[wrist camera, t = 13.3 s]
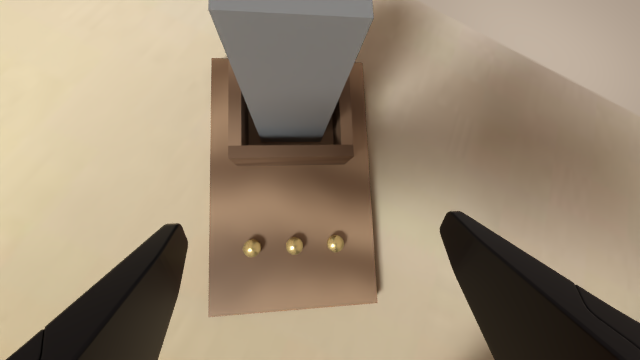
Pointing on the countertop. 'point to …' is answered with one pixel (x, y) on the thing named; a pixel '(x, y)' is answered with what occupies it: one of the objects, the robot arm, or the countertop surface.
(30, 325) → the countertop surface
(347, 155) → the walnut holder
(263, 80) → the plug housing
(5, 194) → the countertop surface
